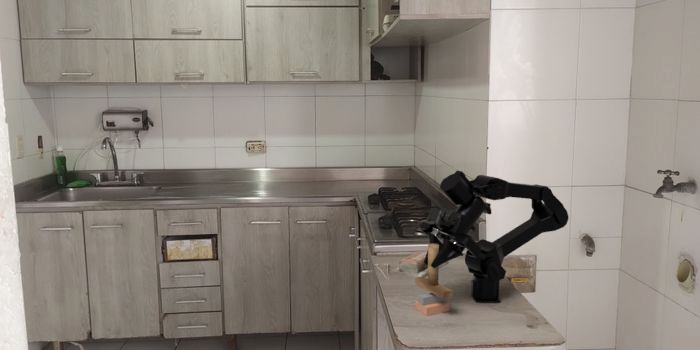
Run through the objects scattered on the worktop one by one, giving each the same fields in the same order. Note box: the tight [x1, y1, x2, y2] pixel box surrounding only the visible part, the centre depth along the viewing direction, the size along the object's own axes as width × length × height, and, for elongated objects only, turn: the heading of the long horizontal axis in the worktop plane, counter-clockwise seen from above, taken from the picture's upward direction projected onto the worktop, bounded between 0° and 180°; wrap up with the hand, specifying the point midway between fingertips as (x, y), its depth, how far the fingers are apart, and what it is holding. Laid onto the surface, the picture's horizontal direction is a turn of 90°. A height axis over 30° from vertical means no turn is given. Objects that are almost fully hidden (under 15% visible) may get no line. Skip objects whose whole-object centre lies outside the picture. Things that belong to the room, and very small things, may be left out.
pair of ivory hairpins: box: [373, 263, 390, 280], centre depth 170 cm, size 18×5×2 cm, turn 5°
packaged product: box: [392, 248, 449, 278], centre depth 176 cm, size 18×5×10 cm
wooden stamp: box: [414, 243, 453, 299], centre depth 140 cm, size 3×12×12 cm, turn 27°
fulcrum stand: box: [414, 292, 451, 317], centre depth 142 cm, size 7×5×4 cm
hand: (428, 265), depth 140 cm, fingers closed on wooden stamp, 3 cm apart
